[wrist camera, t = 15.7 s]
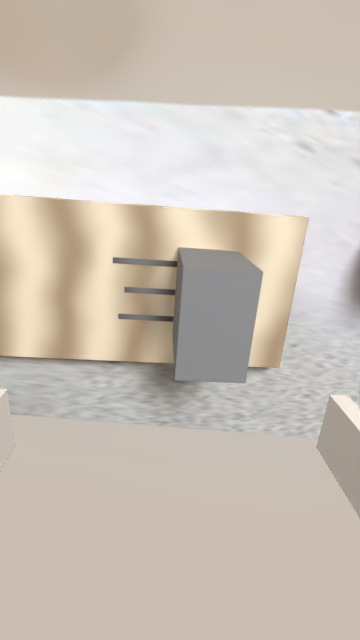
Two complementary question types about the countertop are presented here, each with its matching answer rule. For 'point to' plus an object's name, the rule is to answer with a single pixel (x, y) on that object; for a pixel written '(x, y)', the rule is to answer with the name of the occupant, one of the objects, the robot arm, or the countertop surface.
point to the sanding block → (214, 314)
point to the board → (128, 276)
